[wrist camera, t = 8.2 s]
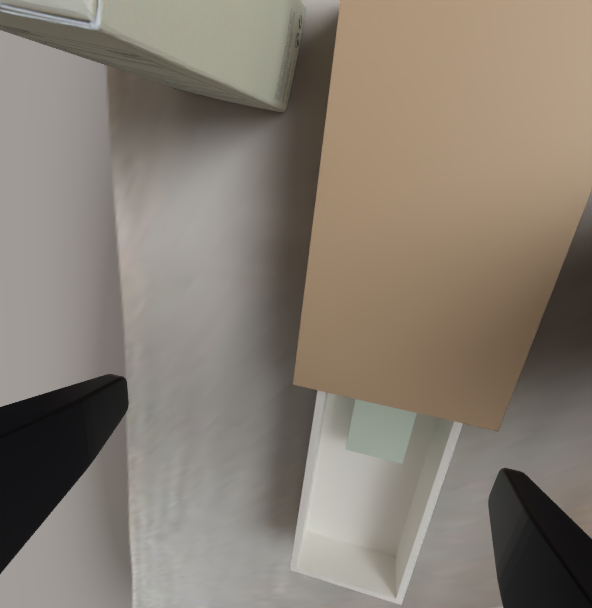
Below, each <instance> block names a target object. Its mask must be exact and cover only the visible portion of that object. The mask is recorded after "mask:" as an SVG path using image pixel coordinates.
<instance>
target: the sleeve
mask: <svg viewBox="0 0 592 608" xmlns="http://www.w3.org/2000/svg"><path fill="white" fill-rule="evenodd" d="M591 190H592V0H340V8H339V16H338V24H337V32H336V40H335V48H334V57H333V65H332V73H331V81H330V89H329V97H328V105H327V113H326V121H325V129H324V137H323V145H322V153H321V161H320V169H319V177H318V185H317V193H316V201H315V209H314V217H313V225H312V234H311V242H310V250H309V258H308V266H307V274H306V282H305V290H304V298H303V306H302V314H301V322H300V330H299V338H298V346H297V354H296V362H295V370H294V378H293V385H296V386H301V387H305V388H309V389H314V390H318V391H323V392H327V393H331V394H336V395H340V396H345V397H349V398H353V399H358V400H362V401H367V402H371V403H375V404H380V405H384V406H389V407H393V408H397V409H402V410H406V411H411V412H415V413H419V414H424V415H428V416H432V417H437V418H441V419H446V420H450V421H454V422H459V423H463V424H468V425H472V426H476V427H481V428H485V429H490V430H494V431H498V430H499V428H500V425H501V422H502V420H503V417H504V415H505V412H506V410H507V407H508V404H509V402H510V399H511V397H512V394H513V392H514V389H515V386H516V384H517V381H518V379H519V376H520V373H521V371H522V368H523V366H524V363H525V361H526V358H527V355H528V353H529V350H530V348H531V345H532V343H533V340H534V337H535V335H536V332H537V330H538V327H539V324H540V322H541V319H542V317H543V314H544V312H545V309H546V306H547V304H548V301H549V299H550V296H551V294H552V291H553V288H554V286H555V283H556V281H557V278H558V276H559V273H560V270H561V268H562V265H563V263H564V260H565V257H566V255H567V252H568V250H569V247H570V245H571V242H572V239H573V237H574V234H575V232H576V229H577V227H578V224H579V221H580V219H581V216H582V214H583V211H584V208H585V206H586V203H587V201H588V198H589V196H590V193H591Z"/></svg>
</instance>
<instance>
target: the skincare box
mask: <svg viewBox="0 0 592 608" xmlns="http://www.w3.org/2000/svg"><path fill="white" fill-rule="evenodd" d="M304 16H305V6H304V4H303V2H302V0H0V30H2V31H5V32H8V33H11V34H14V35H17V36H20V37H23V38H26V39H29V40H32V41H35V42H38V43H41V44H44V45H47V46H50V47H53V48H56V49H59V50H62V51H65V52H68V53H71V54H75V55H77V56H80V57H83V58H86V59H89V60H92V61H96V62H99V63H101V64H104V65H107V66H110V67H113V68H116V69H119V70H122V71H125V72H128V73H131V74H134V75H137V76H140V77H143V78H146V79H149V80H152V81H155V82H158V83H161V84H164V85H167V86H170V87H173V88H177V89H180V90H184V91H188V92H191V93H195V94H199V95H203V96H207V97H211V98H215V99H220V100H224V101H229V102H233V103H238V104H242V105H247V106H252V107H257V108H262V109H267V110H273V111H278V112H285V111H286V108H287V104H288V100H289V95H290V91H291V86H292V81H293V77H294V72H295V67H296V62H297V57H298V52H299V47H300V41H301V35H302V28H303V22H304Z"/></svg>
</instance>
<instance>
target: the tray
mask: <svg viewBox="0 0 592 608" xmlns="http://www.w3.org/2000/svg"><path fill="white" fill-rule="evenodd" d="M354 400H355V399H353V398H349V397H345V396H340V395H336V394H331V393H327V392H323V391H317V397H316V404H315V410H314V416H313V423H312V429H311V436H310V442H309V449H308V455H307V462H306V468H305V475H304V481H303V488H302V494H301V501H300V507H299V513H298V520H297V526H296V533H295V539H294V546H293V552H292V559H291V565H290V570H291V571H294V572H298V573H301V574H304V575H307V576H310V577H314V578H317V579H320V580H323V581H326V582H329V583H333V584H336V585H339V586H342V587H345V588H348V589H352V590H355V591H358V592H361V593H364V594H368V595H371V596H374V597H377V598H380V599H383V600H387V601H390V602H393V603H396V604H399V605H401V604H402V601H403V598H404V596H405V593H406V590H407V587H408V584H409V581H410V578H411V575H412V572H413V569H414V566H415V563H416V560H417V557H418V554H419V552H420V549H421V546H422V543H423V540H424V537H425V534H426V531H427V528H428V525H429V522H430V519H431V516H432V513H433V511H434V508H435V505H436V502H437V499H438V496H439V493H440V490H441V487H442V484H443V481H444V478H445V475H446V472H447V469H448V467H449V464H450V461H451V458H452V455H453V452H454V449H455V446H456V443H457V440H458V437H459V434H460V431H461V428H462V425H463V423H459V422H454V421H450V420H446V419H441V418H437V417H432V416H428V415H424V414H419V413H417V414H416V417H415V421H414V424H413V428H412V432H411V435H410V439H409V442H408V446H407V449H406V453H405V457H404V460H403V464H401V463H397V462H393V461H389V460H385V459H381V458H377V457H373V456H369V455H365V454H361V453H357V452H353V451H349V450H346V444H347V437H348V431H349V425H350V420H351V415H352V410H353V405H354Z"/></svg>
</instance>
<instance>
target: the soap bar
mask: <svg viewBox="0 0 592 608" xmlns="http://www.w3.org/2000/svg"><path fill="white" fill-rule="evenodd" d="M416 414H417V413H415V412H411V411H406V410H402V409H397V408H393V407H389V406H384V405H380V404H375V403H371V402H367V401H362V400H358V399H355V400H354V405H353V410H352V415H351V420H350V425H349V431H348V437H347V444H346V450H349V451H353V452H357V453H361V454H365V455H369V456H373V457H377V458H381V459H385V460H389V461H393V462H397V463H401V464H403V460H404V457H405V453H406V449H407V446H408V442H409V439H410V435H411V432H412V428H413V424H414V421H415V417H416Z"/></svg>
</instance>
